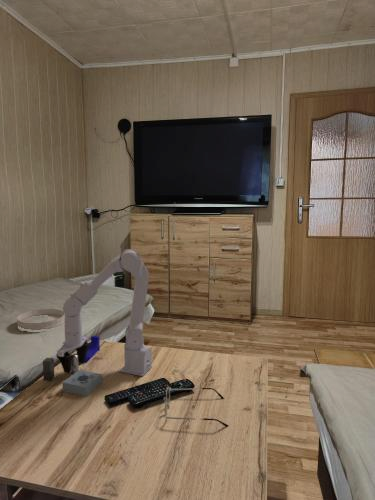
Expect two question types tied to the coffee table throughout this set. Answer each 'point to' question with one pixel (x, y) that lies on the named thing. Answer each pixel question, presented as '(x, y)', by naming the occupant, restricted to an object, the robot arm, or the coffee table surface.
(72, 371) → the round bit
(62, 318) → the dish
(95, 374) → the socket block
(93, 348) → the blue arched block
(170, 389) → the eyeglasses
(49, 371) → the square bit
